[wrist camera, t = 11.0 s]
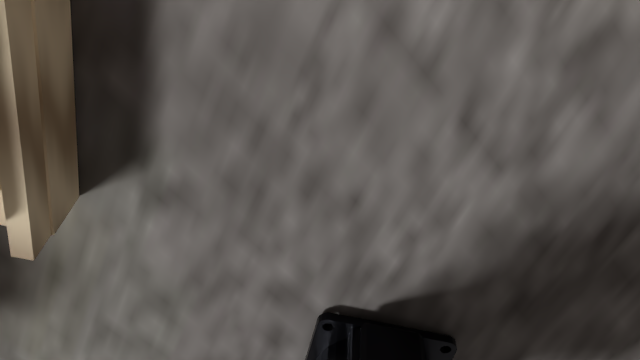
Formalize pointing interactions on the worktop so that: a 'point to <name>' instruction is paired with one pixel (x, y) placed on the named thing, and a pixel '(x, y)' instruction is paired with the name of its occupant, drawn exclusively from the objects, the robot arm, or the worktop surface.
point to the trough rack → (36, 122)
